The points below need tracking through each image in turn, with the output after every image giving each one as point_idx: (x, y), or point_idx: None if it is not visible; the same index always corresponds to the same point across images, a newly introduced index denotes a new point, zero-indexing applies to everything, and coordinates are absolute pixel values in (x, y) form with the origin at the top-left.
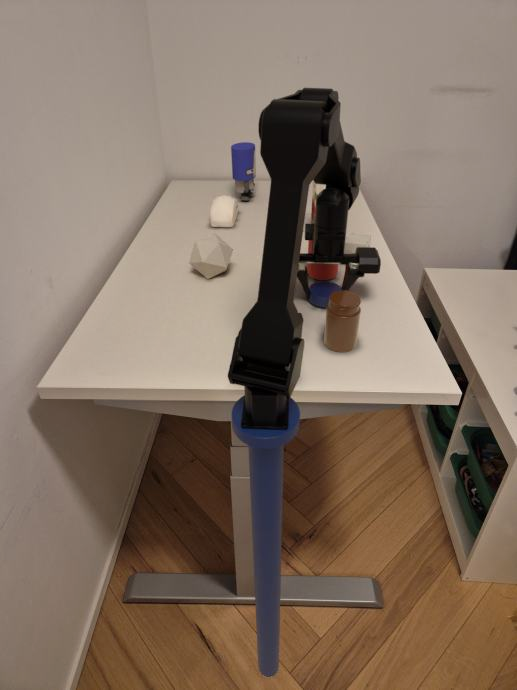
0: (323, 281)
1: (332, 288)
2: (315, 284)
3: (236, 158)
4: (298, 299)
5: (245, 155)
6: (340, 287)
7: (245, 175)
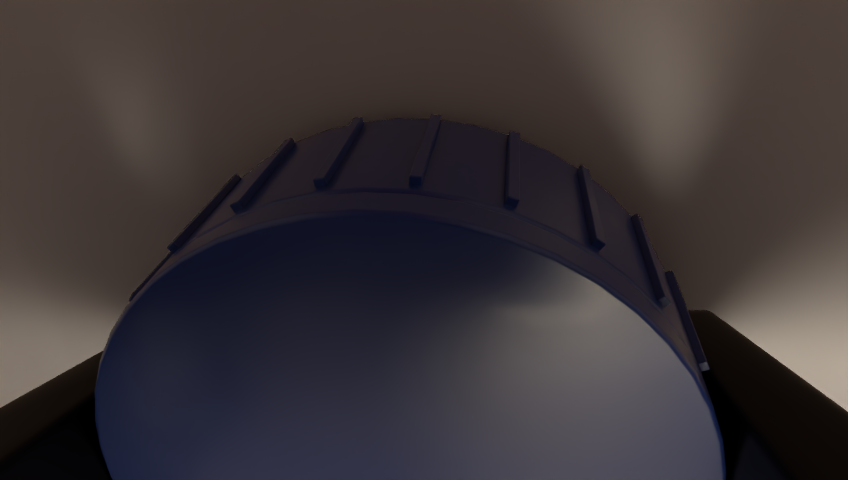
0: (319, 232)
1: (530, 474)
2: (177, 354)
3: None
4: (80, 310)
5: None
6: (707, 451)
7: None
